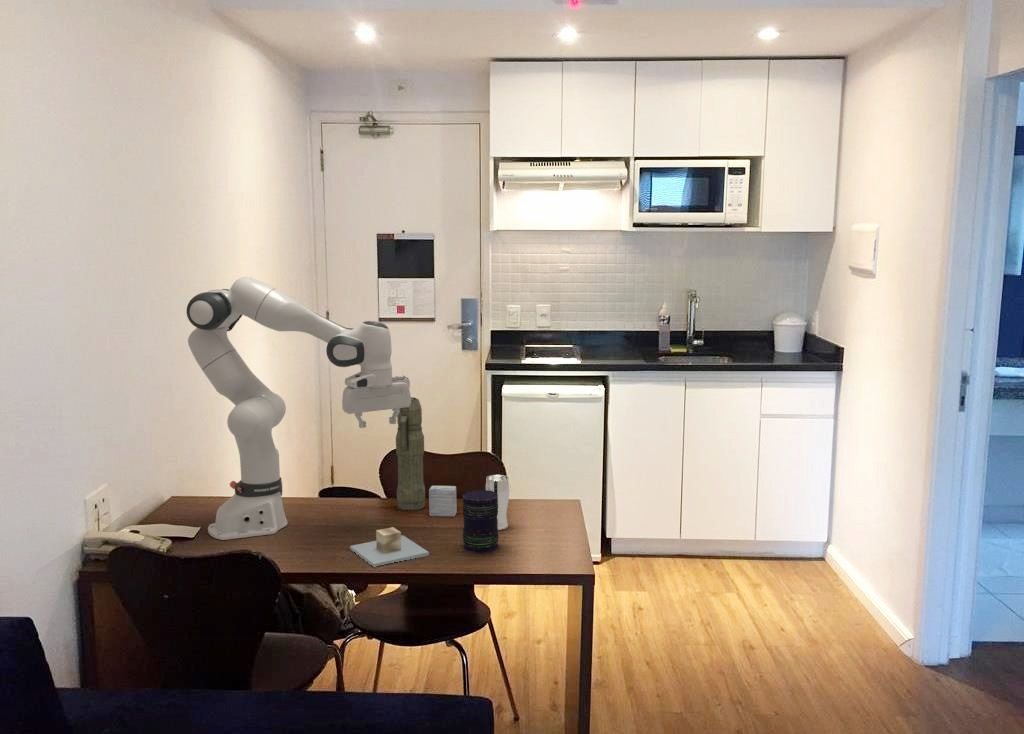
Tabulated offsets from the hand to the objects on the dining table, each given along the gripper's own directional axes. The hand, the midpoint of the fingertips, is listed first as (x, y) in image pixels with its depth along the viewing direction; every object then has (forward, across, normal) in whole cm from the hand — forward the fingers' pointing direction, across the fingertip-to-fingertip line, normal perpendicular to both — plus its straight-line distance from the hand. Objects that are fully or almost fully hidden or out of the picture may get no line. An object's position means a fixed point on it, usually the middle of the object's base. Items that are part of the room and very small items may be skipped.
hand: (377, 425), depth 255 cm
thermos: (+31, -17, -14) cm, 38 cm away
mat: (+31, +6, +19) cm, 37 cm away
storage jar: (+31, -17, +29) cm, 46 cm away
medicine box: (+31, -22, -2) cm, 38 cm away
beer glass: (+31, -30, +17) cm, 47 cm away
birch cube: (+30, +6, +19) cm, 36 cm away
